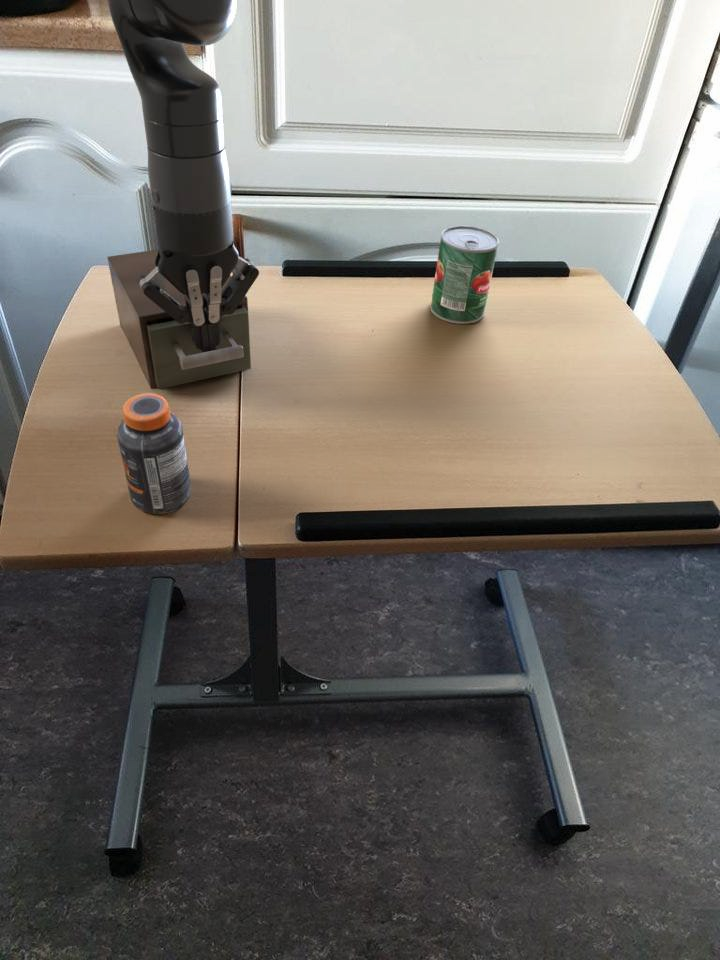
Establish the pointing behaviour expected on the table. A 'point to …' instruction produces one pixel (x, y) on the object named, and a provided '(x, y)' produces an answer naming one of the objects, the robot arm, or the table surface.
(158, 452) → the pill bottle
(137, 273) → the cabinet
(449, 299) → the canned tomato
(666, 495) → the table surface
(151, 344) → the drawer
